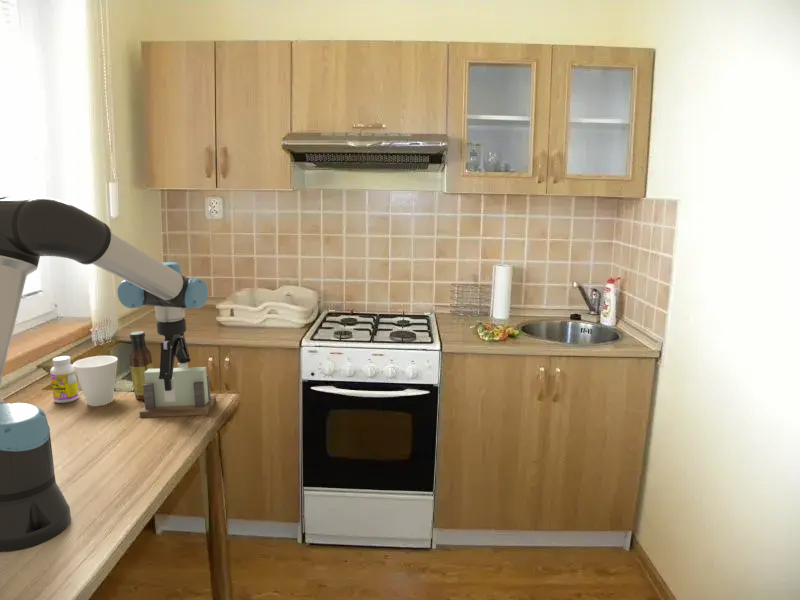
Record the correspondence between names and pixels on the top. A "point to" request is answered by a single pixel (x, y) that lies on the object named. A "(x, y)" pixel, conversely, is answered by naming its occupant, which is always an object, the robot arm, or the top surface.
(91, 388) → the cup
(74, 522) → the top surface
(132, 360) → the sauce bottle
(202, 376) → the door panel
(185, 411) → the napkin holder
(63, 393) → the supplement bottle
